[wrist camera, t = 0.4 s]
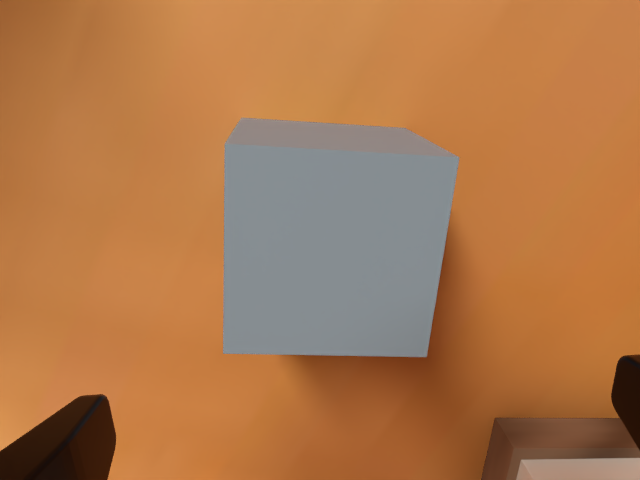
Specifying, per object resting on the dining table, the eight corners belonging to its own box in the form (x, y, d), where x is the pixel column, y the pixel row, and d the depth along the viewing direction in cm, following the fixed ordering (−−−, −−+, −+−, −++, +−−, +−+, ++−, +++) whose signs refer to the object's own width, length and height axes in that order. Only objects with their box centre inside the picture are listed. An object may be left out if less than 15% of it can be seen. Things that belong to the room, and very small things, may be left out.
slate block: (404, 127, 19) (459, 157, 13) (386, 275, 21) (426, 357, 15) (241, 117, 18) (225, 143, 12) (238, 270, 20) (223, 353, 14)
